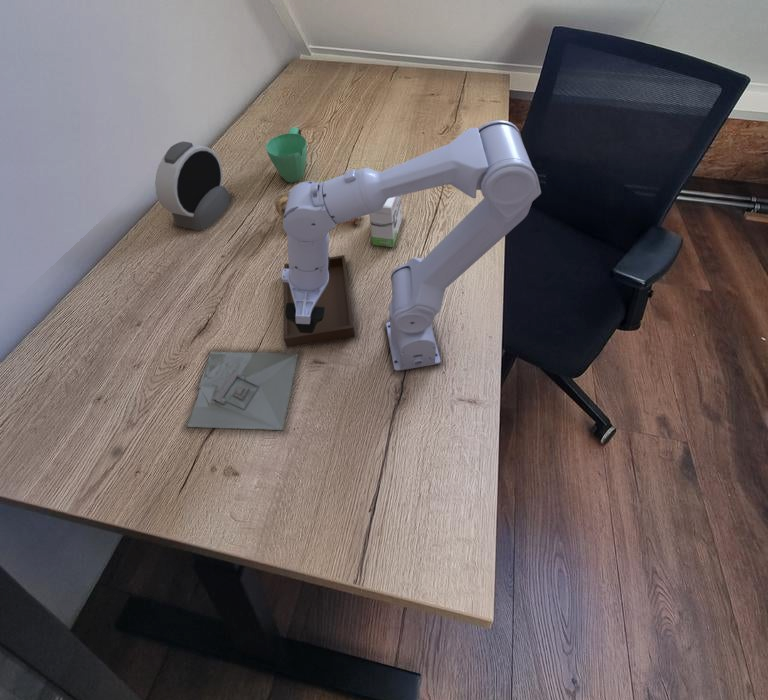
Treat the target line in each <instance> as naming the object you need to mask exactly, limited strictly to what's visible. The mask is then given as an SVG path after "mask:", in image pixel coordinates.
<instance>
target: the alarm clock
mask: <svg viewBox="0 0 768 700" xmlns="http://www.w3.org/2000/svg"><path fill="white" fill-rule="evenodd" d="M223 179H224V178H223V167H222V163H221V161H220V158H219V156H218V154H217V153H216V152H215V151H214V150H213V149H212V148H209V147H208V146H203V145H198V144H193V143H192V142H189V141H179V142H177V143H175V144H173V145H172V146H170V147H169V148H168V149H167V151H166V152H165V154H164V155H163V157H162V159H161V160H160V162H159V164H158V166H157V169H156V173H155V181H154V186H155V195H156V198H157V200H158V203H159V204H160V205H161V206H162V208H163V209H164V210H166V211H167V212H169V213H171V214H172V217H173V220H174V224H175V226H177V227H181V228H184V229H189V230H193V231H197V232H202V231H204V230H206V229H208V228H209V227H210V226H212V225H213V224H214V223H215V222H217V220H219V218H220V217H222V215H223V214H224V213H225V212H226V210H227V209H228V207H229V204H230V203H231V200H232V196H231V195H230V193H229V192H228V189H227V188H226V187H225V186H224V185H223Z"/></svg>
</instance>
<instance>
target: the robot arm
mask: <svg viewBox="0 0 768 700" xmlns="http://www.w3.org/2000/svg"><path fill="white" fill-rule="evenodd" d="M521 134H522V133H521V132H520V129H518V127H517V125H515V124H514V123H512V122H511V121H507V120H503V119H499V120H498V119H497V120H491V121H487V122H485V123H483V124H481V126H479V127H478V126H476V127H471V128H467V129H466V130H464V131H463V132H462V133H461V134H459V135H458V136H456V138H455V139H453V140H452V141H451V142H449V143H448V144H445V145H443V146H440V147H438V148H435V149H433V150H431V151H428V152H425V153H423V154H420V155H418V156H416V157H414V158H411V159H409V160H406V161H404V162H402V163H399V164H396V165H394V166H392V167H390V168H387V169H385V170H382V171H377V170H375V169H373V168H370V167H363V168H360V169H357V170H356V169H355V168H351V169H349V170H345V171H344V174H343V175H339V176H335V177H334V178H330V179H327V180H325V181H321V182H316V181H312V180H307V181H302V182H299V183H296V184H295V185H294V186H292V188H291V189H290V190H289V192H288V193H287V194H288V200H287V205H286V209H285V213H284V218H283V219H282V228H283V231H284V232H285V233H286V241H287V253H288V254H287V257H288V263H289V269H284V268H283V270H282V271H281V277H280V278H281V281H282V282H283V283H284V282H288V283H289V286H290V289H291V293H292V297H293V301H294V303H287V304H286V310H285V316H286V319H288V320H290V321H292V322H293V323H295V325H296V327H297V329H298V330H299V332H300V333H313V331H314V329H315V326H316V324H317V323H318V322H320V321H322V319H323V317H324V310H325V307H316V306H315V305H316V303H317V301H318V300H319V298H320V296H321V294H322V293H323V291H324V289H325V288H326V286H327V284H328V281H329V272H328V269H329V264H330V258H329V257H330V255H329V251H330V231H331V230H333V229H335V228H336V227H337V225H339V224H342V223H345V222H348V221H351V220H352V219H355V218H358V217H361V218H362V217H365V216H367V215H369V214H371V213H374V212H377V211H380V210H381V209H382V208H383V206H384V204H385V202H386V201H387V199H388V198H392V197H396V196H401V197H402V196H405V195H408V194H413V193H417V192H421V191H425V190H426V191H427V190H429V189H434V188H438V187H442V186H447V185H450V186H453V188H456V189H457V190H459V191H460V192H461V193H463V194H465V195H467V196H468V197H470V198H471V199H477V191H480V192H481V195H482V197H483V199H481V201H479V202H478V204H476V206H474V208H472V209H471V210H470V212H468V213H467V215H465V217H463V218H462V220H461V221H460V222H458V223H457V225H456V226H455V227H454V228H452V230H451V231H450V232H449V233H448V234H447V235H446V236H445V237H444V238H443V239H441V241H440V242H439V243H437V245H435V247H434V248H432V250H431V251H429V253H428V254H427V255H426V256H425V257H424V258H420V257H411V259H409V260H408V261H407V262H406V263H403V264H401V265H399V266H397V267H395V268H394V269H393V270H392V271H391V274H390V281H391V301H390V303H389V309H388V311H389V312H388V313H389V321H387V322H386V323H385V326H386V333H387V337H388V344H389V348H390V349H389V350H390V353H391V360H392V365H393V369H394V371H395V372H398V371H399V372H400V371H405V370H411V369H416V368H423V367H428V366H435V365H439V364H440V363H441V357H440V353H439V349H438V346H437V342H436V338H435V333H434V330H433V322H434V318H435V317H436V316H437V315H438V314H439V313H440V312H441V308H442V304H443V300H444V296H445V292H446V290H447V288H448V287H449V286H450V285H452V284H453V283H454V282H455V281H456V280H457V279H459V278H460V277H461V276H462V275H463V274H464V273H465V272H466V271H468V270H469V269H470V268H471V267H472V266H473V265H474V264H475V263H477V261H479V260H480V259H481V258H482V257H484V255H486V253H488V251H490V250H491V249H492V248H493V247H494V246H495V245H497V244H498V243H499V242H500V241H501V240H502V239H504V237H506V236H507V235H508V234H509V233H510V232H511V231H513V229H514V228H516V227H517V226H518V225H519V224H520V223H521V222H522V221H523V220H525V218H526V217H527V216H528V215H529V213H530V209H531V206H532V203H533V201H535V200H536V199H537V198H538V197H539V196H540V195H541V194H542V190H541V186H540V182H539V181H540V180H539V177H538V174H537V172H536V170H535V168H534V167H533V165H532V162H531V160H530V158H529V155H528V152H527V150H526V147H525V144H524V141H523V139H522V135H521Z"/></svg>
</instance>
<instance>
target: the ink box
mask: <svg viewBox="0 0 768 700" xmlns="http://www.w3.org/2000/svg"><path fill="white" fill-rule="evenodd" d="M368 215H369V223H370V232H371V243H372V245H374V246H379V247H387V248H394V247H395V243H396V241H397V237H398V233H399V230H400V227H401V223H402V220H403V219H402V218H403V217H402V215H403V213H402V195H401V196H396V197H392V198H388V199H387V201H386V202H385V204H384V206H383V208H382V209H381V210H380V211H377V212H374V213H371V214H368Z"/></svg>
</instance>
